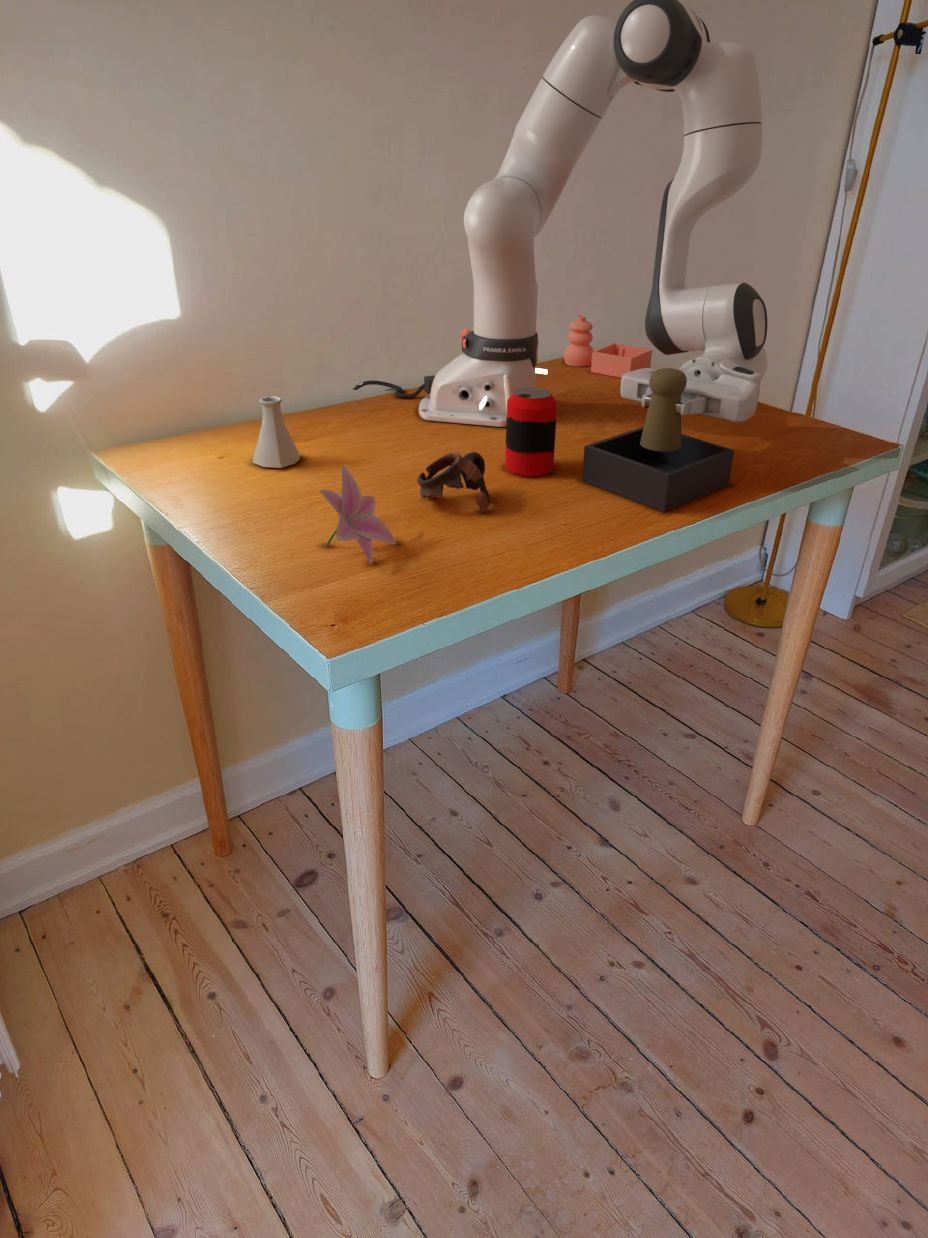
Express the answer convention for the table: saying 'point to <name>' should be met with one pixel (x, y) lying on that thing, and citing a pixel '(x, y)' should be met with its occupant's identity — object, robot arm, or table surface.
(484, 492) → the broken clay pot
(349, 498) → the lily
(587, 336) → the pottery
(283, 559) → the table surface
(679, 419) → the cork
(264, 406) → the flask
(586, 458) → the open box
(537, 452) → the soda can
